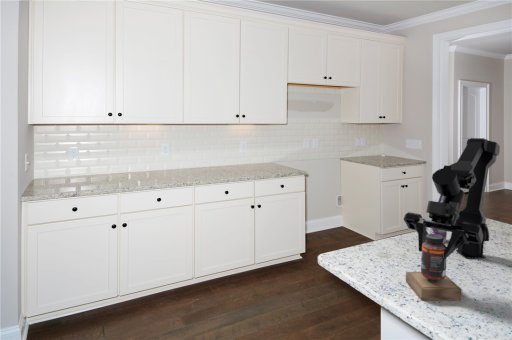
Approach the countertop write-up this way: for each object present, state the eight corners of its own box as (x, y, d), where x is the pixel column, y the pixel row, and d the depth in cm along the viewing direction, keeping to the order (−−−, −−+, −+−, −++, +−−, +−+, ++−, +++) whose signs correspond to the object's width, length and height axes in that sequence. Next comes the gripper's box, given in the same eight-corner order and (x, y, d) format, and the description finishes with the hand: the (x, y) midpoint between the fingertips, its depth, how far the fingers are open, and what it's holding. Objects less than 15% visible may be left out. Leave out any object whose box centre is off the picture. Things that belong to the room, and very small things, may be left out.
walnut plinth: (441, 281, 95) (441, 271, 95) (460, 300, 85) (461, 288, 85) (405, 281, 96) (406, 271, 95) (421, 300, 86) (421, 288, 85)
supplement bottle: (450, 280, 87) (453, 239, 86) (430, 282, 87) (432, 241, 85) (435, 270, 93) (437, 231, 92) (416, 272, 92) (417, 233, 91)
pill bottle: (427, 238, 130) (428, 214, 128) (440, 237, 130) (441, 214, 128) (435, 243, 124) (436, 218, 123) (449, 242, 124) (450, 217, 123)
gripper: (407, 185, 96) (388, 231, 90) (483, 194, 82) (466, 249, 77) (417, 206, 102) (400, 250, 97) (489, 217, 89) (474, 270, 83)
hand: (431, 254), depth 88 cm, fingers closed on supplement bottle, 6 cm apart
